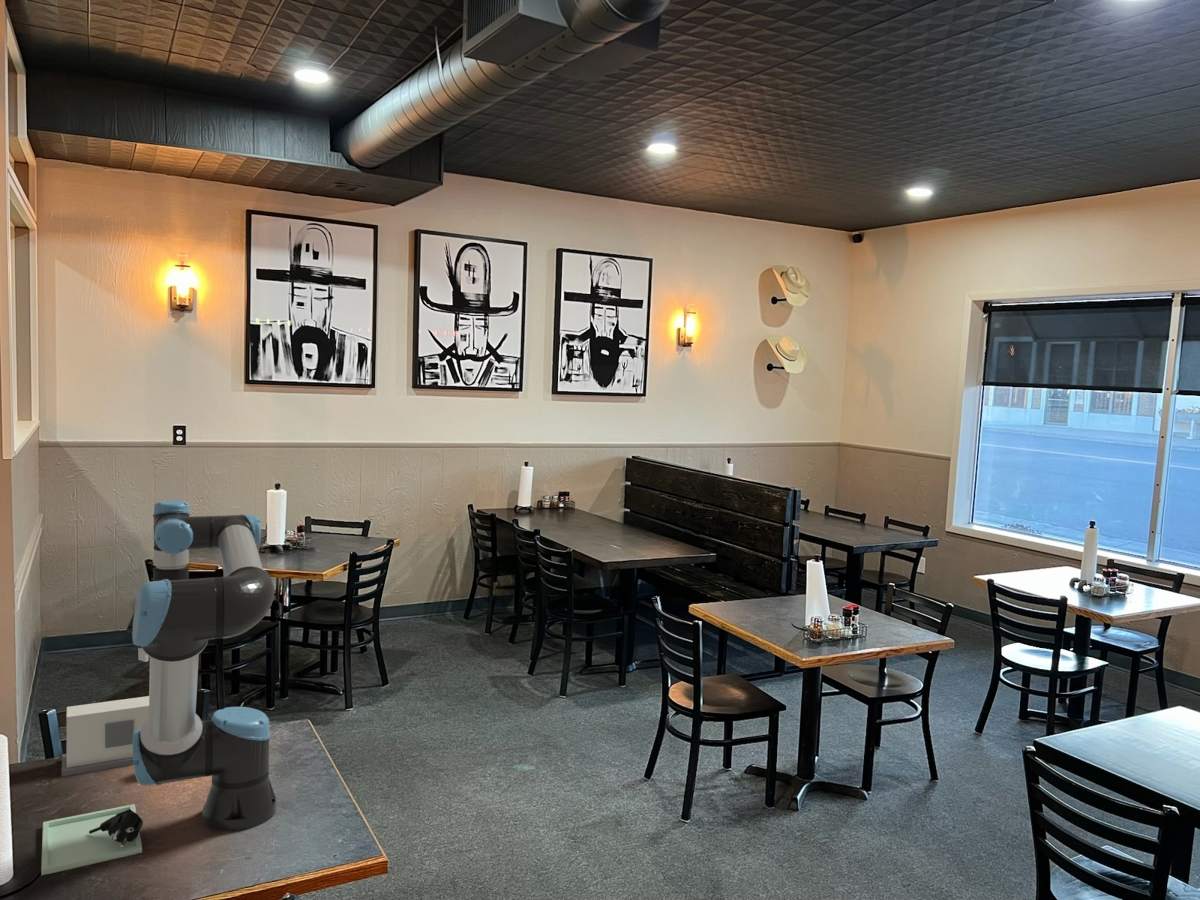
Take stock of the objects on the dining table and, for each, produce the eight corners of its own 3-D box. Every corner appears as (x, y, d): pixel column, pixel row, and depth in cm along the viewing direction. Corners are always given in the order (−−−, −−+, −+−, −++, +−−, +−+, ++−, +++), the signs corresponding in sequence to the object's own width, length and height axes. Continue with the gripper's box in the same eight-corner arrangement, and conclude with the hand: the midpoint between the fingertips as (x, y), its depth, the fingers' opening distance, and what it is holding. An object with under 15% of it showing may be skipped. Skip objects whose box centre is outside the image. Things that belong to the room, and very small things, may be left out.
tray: (142, 854, 171) (142, 847, 171) (41, 877, 162) (41, 869, 162) (134, 810, 188) (134, 803, 188) (43, 828, 179) (43, 821, 179)
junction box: (170, 743, 223) (171, 691, 222) (174, 758, 214) (174, 704, 213) (62, 760, 210) (62, 705, 209) (61, 777, 202) (61, 720, 201)
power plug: (99, 837, 179) (152, 817, 178) (84, 868, 172) (138, 847, 171) (83, 820, 176) (136, 799, 176) (67, 850, 169) (122, 829, 169)
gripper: (207, 554, 214) (206, 636, 216) (109, 572, 193) (109, 663, 194) (227, 559, 211) (225, 642, 213) (130, 578, 189) (129, 670, 191)
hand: (170, 652), depth 204 cm, fingers open, 13 cm apart
